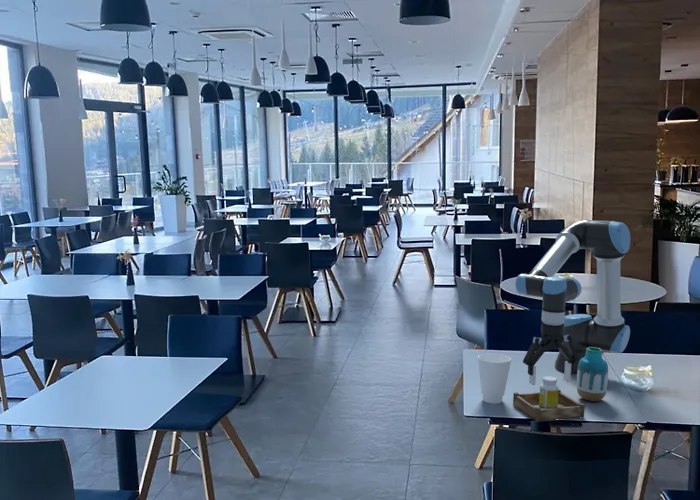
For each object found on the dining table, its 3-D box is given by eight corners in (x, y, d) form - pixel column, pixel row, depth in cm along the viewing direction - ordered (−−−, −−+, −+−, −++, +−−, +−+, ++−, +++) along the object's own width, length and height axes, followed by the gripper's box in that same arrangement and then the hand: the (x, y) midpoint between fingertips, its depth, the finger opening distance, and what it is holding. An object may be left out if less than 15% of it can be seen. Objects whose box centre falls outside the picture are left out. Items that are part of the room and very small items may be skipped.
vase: (570, 394, 249) (574, 345, 246) (598, 394, 250) (601, 344, 247) (583, 405, 238) (586, 353, 236) (611, 404, 239) (615, 353, 237)
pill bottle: (559, 408, 232) (561, 377, 231) (554, 413, 227) (556, 382, 226) (542, 404, 236) (544, 374, 234) (536, 409, 231) (538, 378, 229)
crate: (557, 401, 242) (558, 389, 241) (583, 417, 226) (584, 404, 226) (513, 405, 237) (513, 392, 236) (536, 422, 222) (537, 408, 221)
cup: (502, 408, 233) (504, 364, 231) (470, 401, 240) (472, 358, 238) (513, 398, 243) (515, 356, 241) (482, 392, 250) (484, 351, 248)
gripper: (578, 317, 234) (575, 375, 237) (514, 322, 228) (512, 381, 231) (591, 323, 227) (587, 382, 230) (525, 327, 221) (522, 388, 224)
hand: (549, 382), depth 231 cm, fingers open, 13 cm apart
